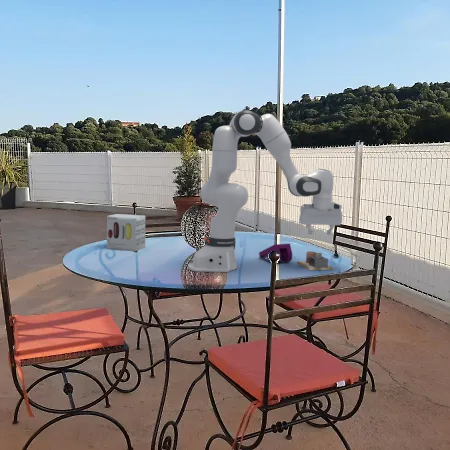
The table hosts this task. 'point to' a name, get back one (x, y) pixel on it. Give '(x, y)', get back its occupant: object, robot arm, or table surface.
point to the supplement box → (126, 232)
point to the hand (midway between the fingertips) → (319, 234)
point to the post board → (306, 265)
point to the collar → (318, 262)
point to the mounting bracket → (281, 249)
